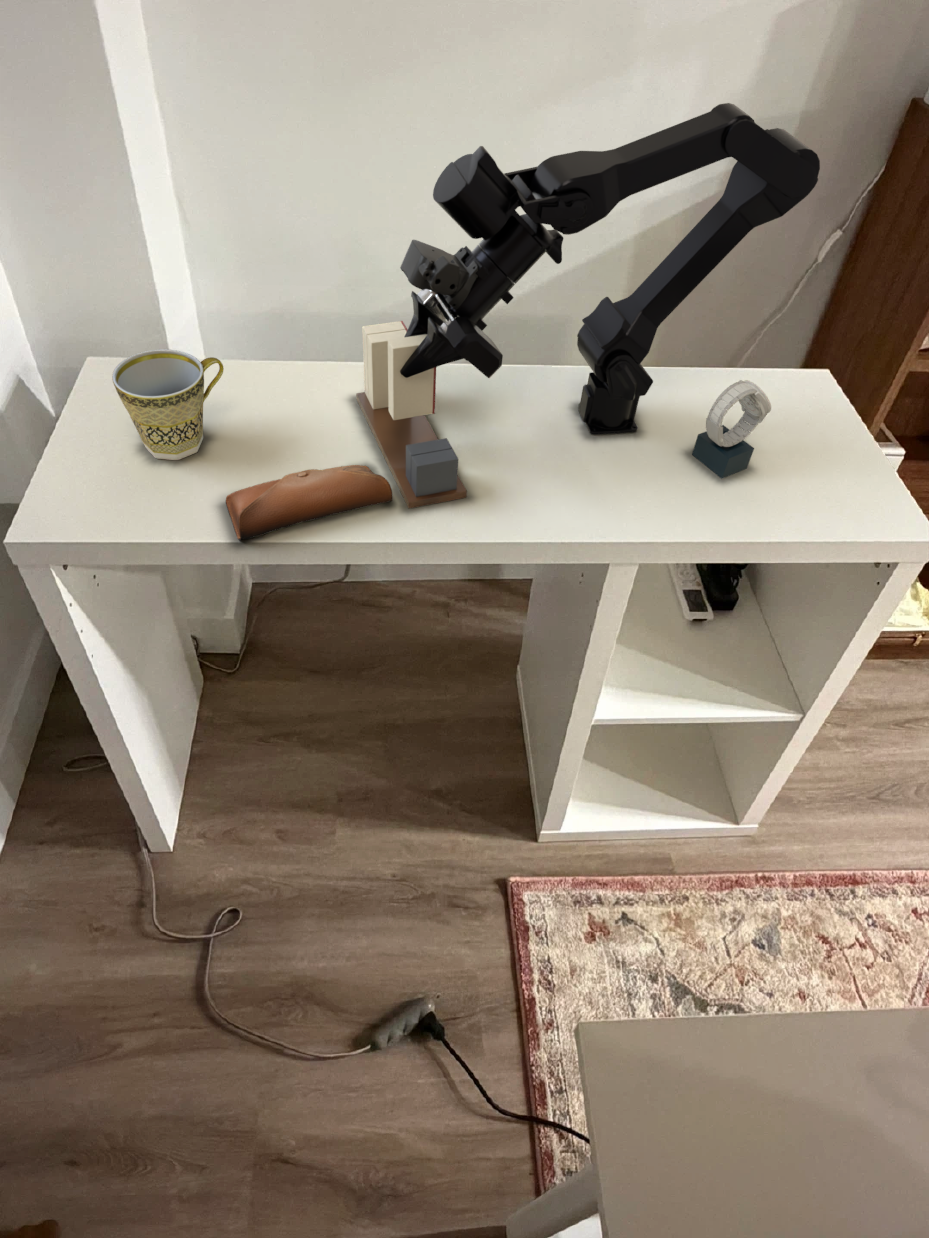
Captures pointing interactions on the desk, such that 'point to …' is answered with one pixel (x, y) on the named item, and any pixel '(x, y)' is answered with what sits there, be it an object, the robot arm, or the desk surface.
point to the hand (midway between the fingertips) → (399, 369)
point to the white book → (409, 382)
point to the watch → (728, 446)
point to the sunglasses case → (304, 498)
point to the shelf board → (404, 449)
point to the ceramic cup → (165, 399)
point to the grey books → (431, 467)
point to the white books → (378, 360)
